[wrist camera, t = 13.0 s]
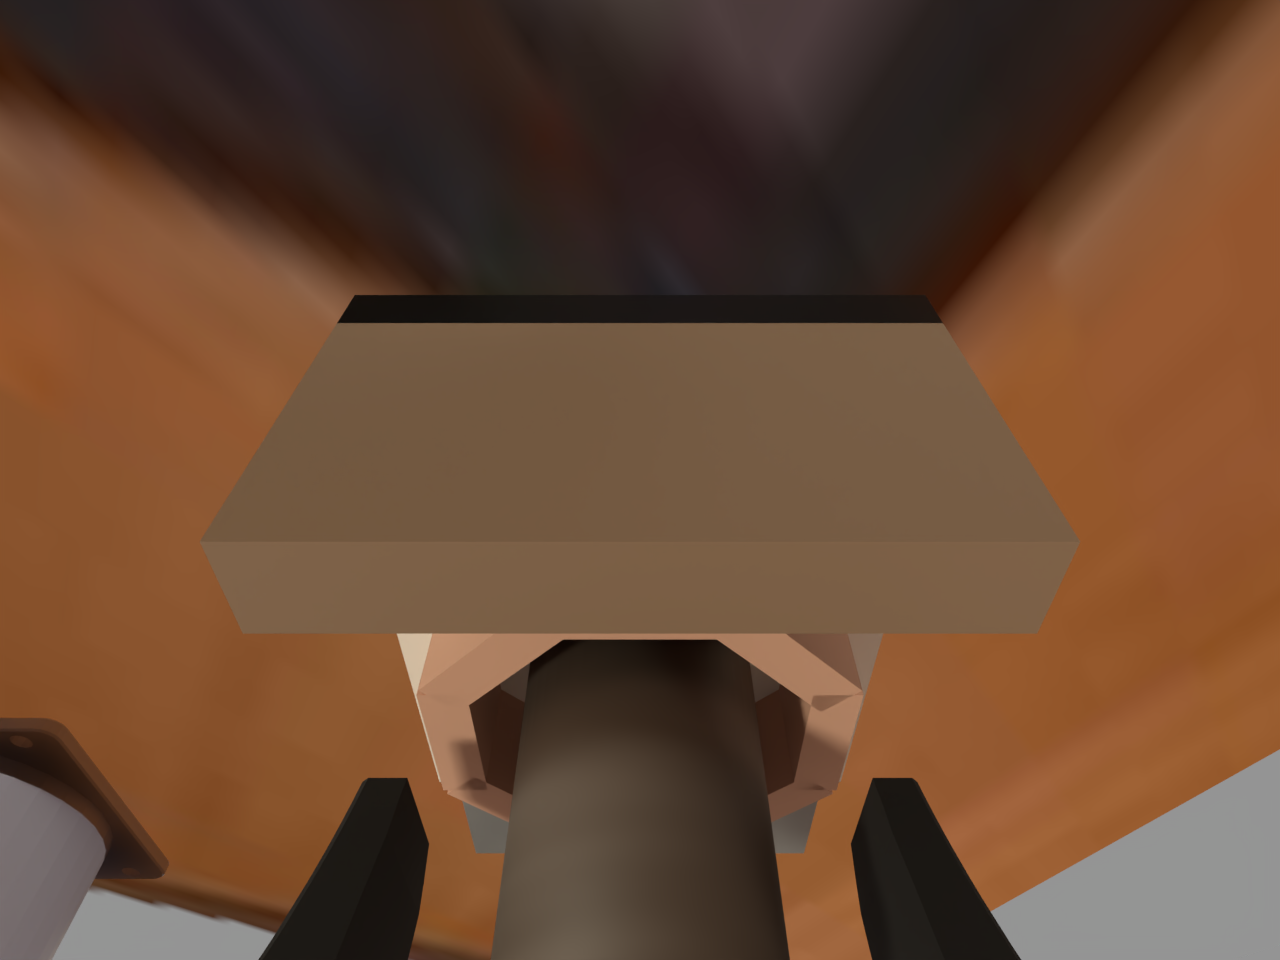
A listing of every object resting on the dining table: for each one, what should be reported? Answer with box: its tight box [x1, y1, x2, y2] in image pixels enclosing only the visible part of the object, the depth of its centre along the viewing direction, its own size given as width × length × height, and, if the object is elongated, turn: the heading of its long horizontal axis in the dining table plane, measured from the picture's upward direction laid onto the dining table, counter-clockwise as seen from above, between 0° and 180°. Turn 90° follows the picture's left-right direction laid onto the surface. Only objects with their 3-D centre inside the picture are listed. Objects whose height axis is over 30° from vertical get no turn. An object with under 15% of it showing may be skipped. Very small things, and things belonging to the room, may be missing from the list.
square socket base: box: [397, 634, 883, 822], centre depth 15 cm, size 9×9×4 cm
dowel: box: [491, 639, 790, 960], centre depth 12 cm, size 4×4×7 cm
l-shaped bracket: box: [200, 295, 1080, 853], centre depth 16 cm, size 10×17×6 cm, turn 0°
